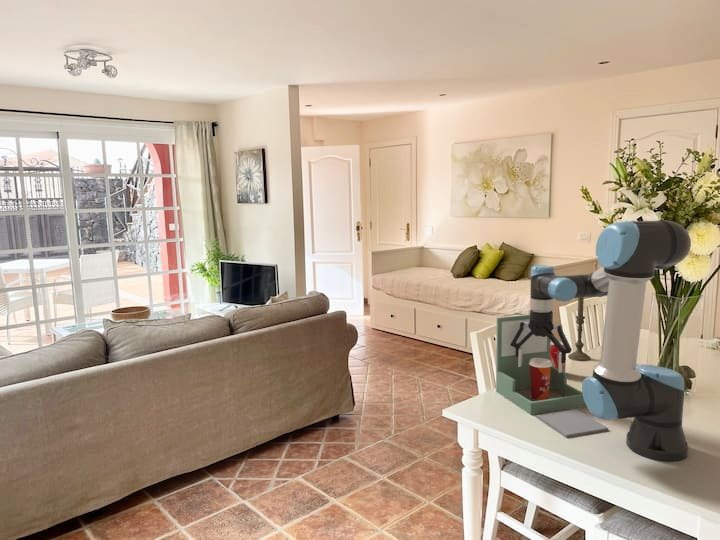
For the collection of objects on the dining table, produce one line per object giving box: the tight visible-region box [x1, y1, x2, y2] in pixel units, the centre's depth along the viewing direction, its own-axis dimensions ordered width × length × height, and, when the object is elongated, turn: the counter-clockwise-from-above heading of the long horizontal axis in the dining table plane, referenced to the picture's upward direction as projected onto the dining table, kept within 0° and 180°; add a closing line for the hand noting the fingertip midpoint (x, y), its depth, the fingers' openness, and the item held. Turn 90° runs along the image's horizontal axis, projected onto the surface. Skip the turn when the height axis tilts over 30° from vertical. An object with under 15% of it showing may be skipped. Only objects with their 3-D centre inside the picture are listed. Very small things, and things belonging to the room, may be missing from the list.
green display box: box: [495, 314, 587, 416], centre depth 182 cm, size 22×22×28 cm
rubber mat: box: [535, 408, 609, 438], centre depth 163 cm, size 15×15×1 cm
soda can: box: [550, 340, 567, 373], centre depth 207 cm, size 7×7×13 cm
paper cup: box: [529, 358, 552, 401], centre depth 183 cm, size 8×8×14 cm
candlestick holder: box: [567, 297, 591, 362], centre depth 225 cm, size 9×9×30 cm
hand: (539, 368), depth 182 cm, fingers open, 13 cm apart
